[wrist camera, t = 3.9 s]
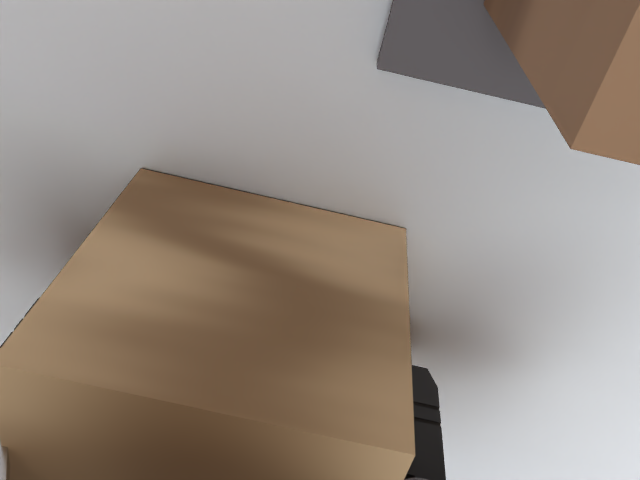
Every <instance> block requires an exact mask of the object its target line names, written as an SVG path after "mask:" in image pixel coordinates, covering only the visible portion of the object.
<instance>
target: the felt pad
mask: <svg viewBox="0 0 640 480" xmlns="http://www.w3.org/2000/svg"><path fill="white" fill-rule="evenodd" d="M484 1H485V0H393V3H392V7H391V11H390V15H389V19H388V23H387V27H386V31H385V34H384V38H383V42H382V46H381V50H380V54H379V58H378V62H377V69H380V70H384V71H388V72H392V73H397V74H401V75H405V76H409V77H414V78H418V79H422V80H426V81H431V82H435V83H439V84H444V85H448V86H452V87H456V88H461V89H465V90H469V91H473V92H478V93H482V94H486V95H491V96H495V97H499V98H503V99H508V100H512V101H516V102H520V103H525V104H529V105H533V106H537V107H542V108H546V107H545V106H544V104H543V102H542V101H541V99H540V97H539V96H538V94H537V92H536V91H535V89H534V87H533V86H532V84H531V83H530V81H529V79H528V78H527V76H526V74H525V73H524V71H523V69H522V68H521V66H520V64H519V63H518V61H517V59H516V58H515V56H514V54H513V53H512V51H511V49H510V48H509V46H508V44H507V43H506V41H505V39H504V38H503V36H502V34H501V33H500V31H499V29H498V28H497V26H496V25H495V23H494V21H493V20H492V18H491V16H490V15H489V13H488V11H487V10H486V8H485V6H484V5H483V4H484Z"/></svg>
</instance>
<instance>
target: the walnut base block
mask: <svg viewBox="0 0 640 480" xmlns="http://www.w3.org/2000/svg"><path fill="white" fill-rule="evenodd" d="M483 5H484V6H485V8H486V10H487V11H488V13H489V15H490V16H491V18H492V20H493V21H494V23H495V25H496V26H497V28H498V29H499V31H500V33H501V34H502V36H503V38H504V39H505V41H506V43H507V44H508V46H509V48H510V49H511V51H512V53H513V54H514V56H515V58H516V59H517V61H518V63H519V64H520V66H521V68H522V69H523V71H524V73H525V74H526V76H527V78H528V79H529V81H530V83H531V84H532V86H533V87H534V89H535V91H536V92H537V94H538V96H539V97H540V99H541V101H542V102H543V104H544V106H545V107H546V109H547V111H548V112H549V114H550V116H551V117H552V119H553V121H554V122H555V124H556V126H557V127H558V129H559V131H560V132H561V134H562V136H563V137H564V139H565V141H566V142H567V144H568V145H569V147H570V149H574V150H578V151H582V152H586V153H591V154H595V155H599V156H604V157H608V158H612V159H617V160H621V161H625V162H629V163H634V164H638V165H640V0H485V1H484V4H483Z"/></svg>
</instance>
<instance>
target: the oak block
mask: <svg viewBox="0 0 640 480" xmlns="http://www.w3.org/2000/svg"><path fill="white" fill-rule="evenodd" d="M0 442H1V446H5V447H8V452H9V460H10V478H9V480H404V478H405V476H406V474H407V472H408V470H409V468H410V466H411V463H412V461H413V459H414V457H415V435H414V411H413V387H412V363H411V339H410V315H409V291H408V266H407V242H406V229H405V228H400V227H396V226H392V225H387V224H383V223H378V222H374V221H370V220H365V219H361V218H357V217H352V216H348V215H343V214H339V213H335V212H330V211H326V210H321V209H317V208H313V207H308V206H304V205H299V204H295V203H291V202H286V201H282V200H278V199H273V198H269V197H264V196H260V195H256V194H251V193H247V192H242V191H238V190H234V189H229V188H225V187H221V186H216V185H212V184H207V183H203V182H199V181H194V180H190V179H185V178H181V177H177V176H172V175H168V174H163V173H159V172H155V171H150V170H146V169H142V168H141V169H140V170H139V171H138V172H137V174H136V175H135V176H134V178H133V179H132V180H131V181H130V183H129V184H128V185H127V187H126V188H125V189H124V190H123V192H122V193H121V194H120V196H119V197H118V198H117V199H116V201H115V202H114V203H113V205H112V206H111V207H110V208H109V210H108V211H107V212H106V214H105V215H104V216H103V217H102V219H101V220H100V221H99V223H98V224H97V225H96V226H95V228H94V229H93V230H92V232H91V233H90V234H89V235H88V237H87V238H86V239H85V241H84V242H83V243H82V244H81V246H80V247H79V248H78V249H77V251H76V252H75V253H74V255H73V256H72V257H71V258H70V260H69V261H68V262H67V264H66V265H65V266H64V267H63V269H62V270H61V271H60V273H59V274H58V275H57V276H56V278H55V279H54V280H53V282H52V283H51V284H50V285H49V287H48V288H47V289H46V291H45V292H44V293H43V294H42V296H41V297H40V298H39V300H38V301H37V302H36V303H35V305H34V306H33V307H32V309H31V310H30V311H29V312H28V314H27V315H26V316H25V317H24V319H23V320H22V321H21V323H20V324H19V325H18V326H17V328H16V329H15V330H14V332H13V333H12V334H11V335H10V337H9V338H8V339H7V341H6V342H5V343H4V344H3V346H2V347H1V348H0Z"/></svg>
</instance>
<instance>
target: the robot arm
mask: <svg viewBox="0 0 640 480" xmlns="http://www.w3.org/2000/svg"><path fill="white" fill-rule="evenodd" d="M38 300H39V298H38V299H37V301H38ZM37 301H36V302H37ZM36 302H35V303H36ZM35 303H34V304H33V306H34V305H35ZM33 306H32V307H33ZM32 307H31V308H30V309H29V311H30V310H31V309H32ZM29 311H28V312H29ZM28 312H27V313H26V315H27V314H28ZM26 315H25V316H26ZM22 320H23V319H22ZM22 320H21V321H22ZM21 321H20V322H19V324H20V323H21ZM19 324H18V325H19ZM18 325H17V326H18ZM17 326H16V327H15V329H16V328H17ZM15 329H14V330H15ZM12 333H13V332H11V334H12ZM11 334H10V335H11ZM10 335H9V336H8V338H9V337H10ZM8 338H7V339H8ZM7 339H6V340H5V341H4V343H5V342H6V341H7ZM4 343H3V344H4ZM3 344H2V345H1V347H2V346H3ZM1 347H0V348H1ZM412 387H413V411H414V435H415V457H414V459H413V461H412V463H411V466H410V468H409V470H408V472H407V474H406V476H405V478H404V480H446V476H445V465H444V454H443V442H442V431H441V426H440V423H441V419H440V411H439V397H438V387H437V385H436V384H435V382H434V380H433V378H432V376H431V374H430V373H429V371H428V369H427V368H422V367H418V366H413V365H412ZM9 478H10V460H9V452H8V447H5V446H1V442H0V480H9Z"/></svg>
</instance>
